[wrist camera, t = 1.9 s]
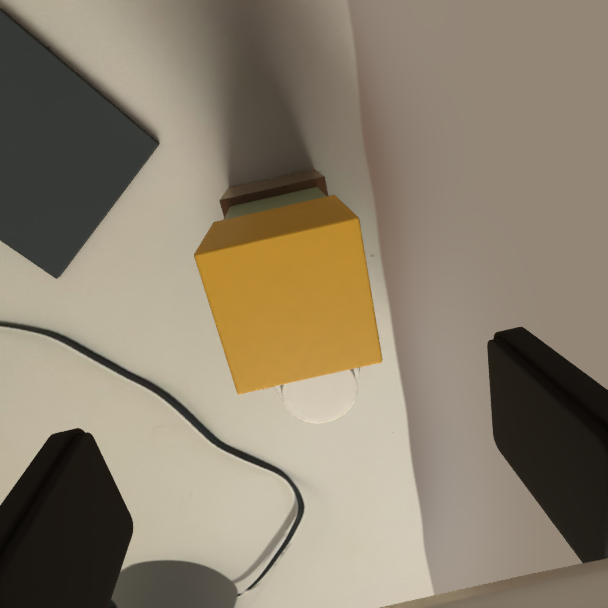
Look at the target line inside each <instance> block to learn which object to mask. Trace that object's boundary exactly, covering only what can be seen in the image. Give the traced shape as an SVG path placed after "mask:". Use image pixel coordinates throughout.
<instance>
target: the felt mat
mask: <svg viewBox="0 0 608 608" xmlns="http://www.w3.org/2000/svg"><path fill="white" fill-rule="evenodd" d="M159 144H160V143H159V142H158V141H156V140H155V139H154V138H153V137H152V136H151V135H149V134H148V133H147V132H146V131H145V130H143V129H142V128H141V127H140V126H139V125H138V124H136V123H135V122H134V121H133V120H132V119H131V118H129V117H128V116H127V115H126V114H125V113H123V112H122V111H121V110H120V109H119V108H118V107H116V106H115V105H114V104H113V103H112V102H111V101H109V100H108V99H107V98H106V97H105V96H103V95H102V94H101V93H100V92H99V91H98V90H96V89H95V88H94V87H93V86H92V85H91V84H89V83H88V82H87V81H86V80H85V79H83V78H82V77H81V76H80V75H79V74H78V73H76V72H75V71H74V70H73V69H72V68H70V67H69V66H68V65H67V64H66V63H65V62H63V61H62V60H61V59H60V58H59V57H58V56H56V55H55V54H54V53H53V52H52V51H50V50H49V49H48V48H47V47H46V46H45V45H43V44H42V43H41V42H40V41H39V40H38V39H36V38H35V37H34V36H33V35H32V34H30V33H29V32H28V31H27V30H26V29H25V28H23V27H22V26H21V25H20V24H19V23H18V22H16V21H15V20H14V19H13V18H12V17H10V16H9V15H8V14H7V13H6V12H5V11H3V10H2V9H1V8H0V240H1V241H2V242H3V243H5V244H6V245H8V246H9V247H11V248H12V249H14V250H15V251H17V252H18V253H20V254H21V255H22V256H24V257H25V258H27V259H28V260H30V261H31V262H33V263H34V264H36V265H37V266H38V267H40V268H41V269H43V270H44V271H46V272H47V273H49V274H50V275H52V276H53V277H54V278H56V279H57V278H58V277H60V276H61V274H62V273H63V272H64V270H65V269H66V268H67V266H68V265H69V264H70V262H71V261H72V260H73V258H74V257H75V256H76V254H77V253H78V252H79V250H80V249H81V248H82V246H83V245H84V244H85V242H86V241H87V240H88V238H89V237H90V236H91V234H92V233H93V232H94V230H95V229H96V228H97V226H98V225H99V224H100V222H101V221H102V220H103V218H104V217H105V216H106V215H107V213H108V212H109V211H110V209H111V208H112V207H113V205H114V204H115V203H116V201H117V200H118V199H119V197H120V196H121V195H122V193H123V192H124V191H125V189H126V188H127V187H128V185H129V184H130V183H131V181H132V180H133V179H134V177H135V176H136V175H137V173H138V172H139V171H140V169H141V168H142V167H143V165H144V164H145V163H146V161H147V160H148V159H149V157H150V156H151V155H152V153H153V152H154V151H155V149H156V148H157V147H158V145H159Z"/></svg>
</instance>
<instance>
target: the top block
mask: <svg viewBox="0 0 608 608" xmlns="http://www.w3.org/2000/svg"><path fill="white" fill-rule="evenodd" d="M194 257H195V260H196V263H197V267H198V270H199V273H200V276H201V279H202V282H203V286H204V289H205V292H206V295H207V298H208V302H209V305H210V308H211V311H212V314H213V317H214V321H215V324H216V327H217V330H218V333H219V336H220V340H221V343H222V346H223V349H224V352H225V355H226V359H227V362H228V365H229V368H230V371H231V375H232V378H233V381H234V384H235V387H236V390H237V393H238V394H243V393H247V392H251V391H256V390H260V389H265V388H269V387H274V386H278V385H283V384H287V383H292V382H296V381H301V380H305V379H309V378H314V377H318V376H323V375H327V374H332V373H336V372H341V371H345V370H350V369H354V368H359V367H363V366H367V365H372V364H376V363H381V362H382V355H381V349H380V343H379V337H378V330H377V324H376V318H375V312H374V306H373V300H372V294H371V288H370V282H369V276H368V270H367V264H366V258H365V252H364V246H363V240H362V234H361V228H360V222H359V218H358V217H357V216H356V215H355V214H354V213H353V212H352V211H351V210H350V209H349V208H348V207H347V206H346V205H345V204H344V203H343V202H342V201H341V200H340V199H338V198H337V197H336V196H335V195H331V196H327V197H323V198H318V199H314V200H309V201H305V202H301V203H296V204H292V205H287V206H283V207H279V208H274V209H270V210H265V211H261V212H257V213H252V214H248V215H243V216H239V217H235V218H230V219H226V220H221V221H217V222H214V223H213V224H212V226H211V228H210V229H209V231H208V233H207V234H206V236H205V237H204V239H203V241H202V242H201V244H200V246H199V247H198V249H197V251H196V252H195V254H194Z"/></svg>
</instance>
